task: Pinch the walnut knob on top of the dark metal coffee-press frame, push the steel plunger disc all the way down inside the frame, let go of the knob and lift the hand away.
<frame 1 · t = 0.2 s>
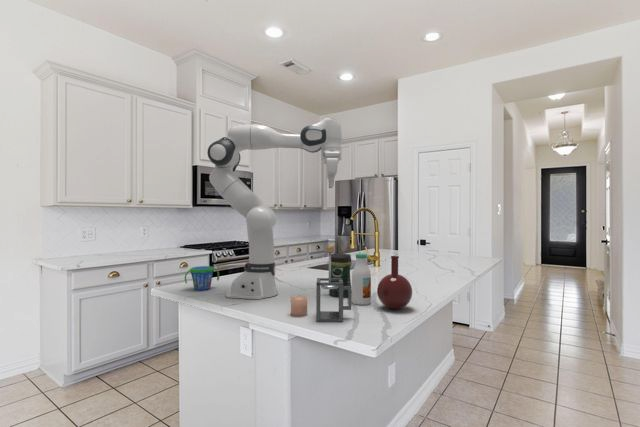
hand: (331, 187, 158), 48 cm above the table, tool pointing down, fingers open, 8 cm apart
plunger: (329, 266, 125), point 18 cm above the table, slide at 0.0 cm
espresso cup: (298, 314, 130), on the table
snack cup: (202, 289, 171), on the table
round-bottom flask: (394, 309, 138), on the table
coffee jar: (340, 295, 159), on the table
press frame: (329, 317, 125), on the table
milk bottle: (361, 303, 146), on the table
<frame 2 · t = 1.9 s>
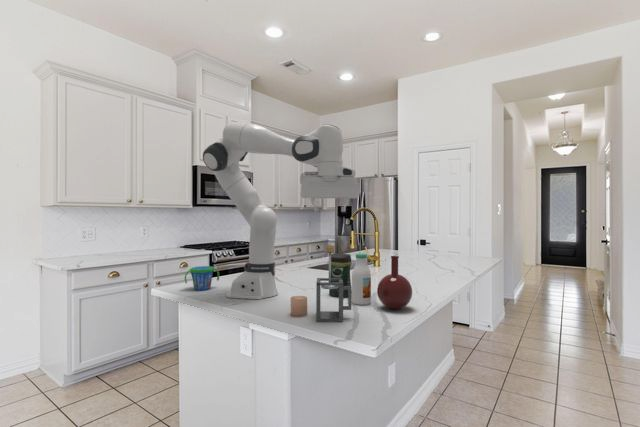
hand: (329, 211, 125), 37 cm above the table, tool pointing down, fingers open, 8 cm apart
nothing on the table moved.
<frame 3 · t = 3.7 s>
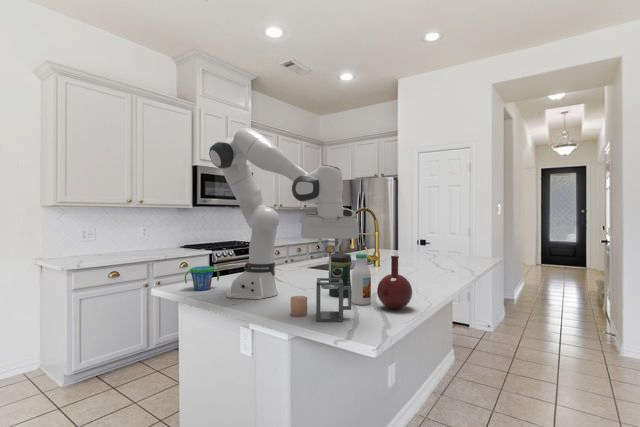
hand: (329, 251, 125), 23 cm above the table, tool pointing down, fingers closed on plunger, 3 cm apart
plunger: (329, 266, 125), point 18 cm above the table, slide at 0.0 cm, touching gripper
everything else where it was.
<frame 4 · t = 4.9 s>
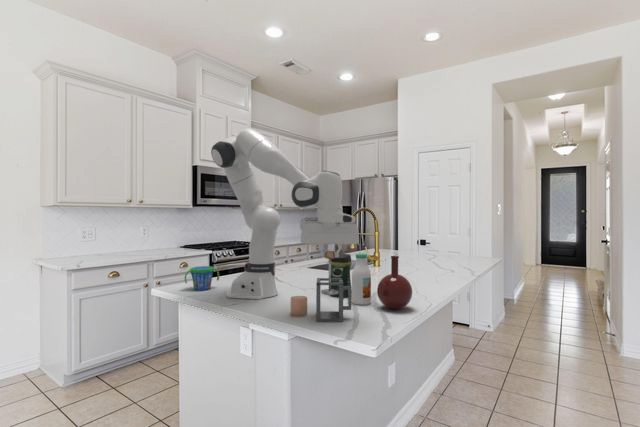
hand: (329, 257, 125), 21 cm above the table, tool pointing down, fingers closed on plunger, 3 cm apart
plunger: (329, 272, 125), point 16 cm above the table, slide at 2.0 cm, touching gripper
everything else where it was.
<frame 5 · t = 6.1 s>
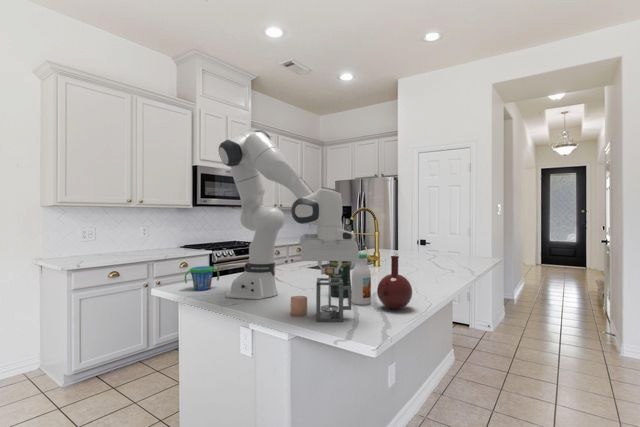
hand: (329, 273, 125), 15 cm above the table, tool pointing down, fingers closed on plunger, 3 cm apart
plunger: (329, 288, 125), point 10 cm above the table, slide at 7.7 cm, touching gripper
everything else where it was.
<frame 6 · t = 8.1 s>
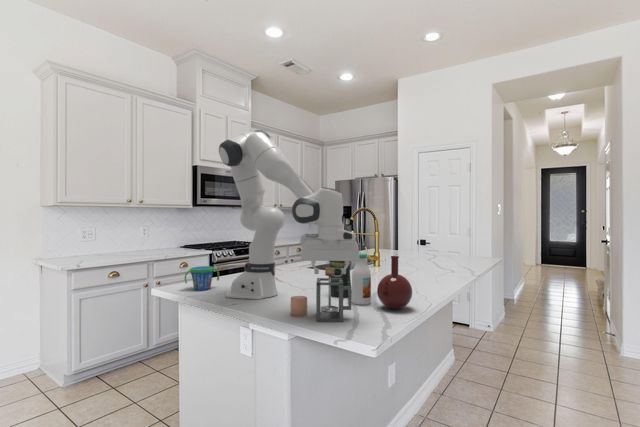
hand: (330, 273, 125), 15 cm above the table, tool pointing down, fingers open, 8 cm apart
plunger: (329, 289, 125), point 10 cm above the table, slide at 7.9 cm
everything else where it was.
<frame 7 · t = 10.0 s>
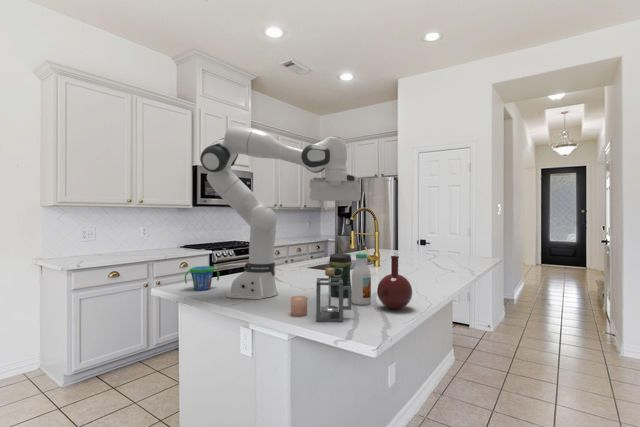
hand: (335, 212, 144), 37 cm above the table, tool pointing down, fingers open, 8 cm apart
nothing on the table moved.
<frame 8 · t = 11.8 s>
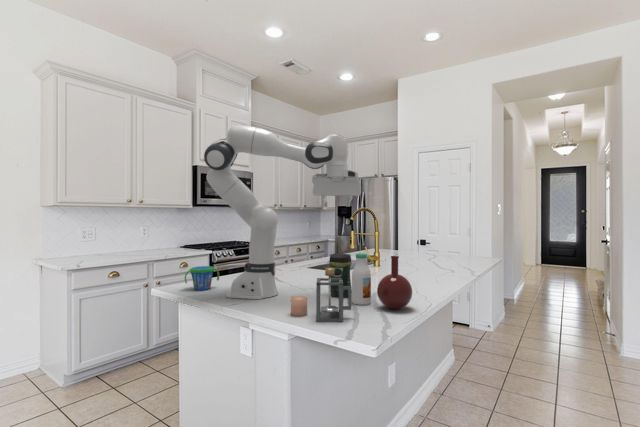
hand: (336, 206, 151), 39 cm above the table, tool pointing down, fingers open, 8 cm apart
nothing on the table moved.
at the end: plunger slide at 7.9 cm; the gripper is holding nothing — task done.
